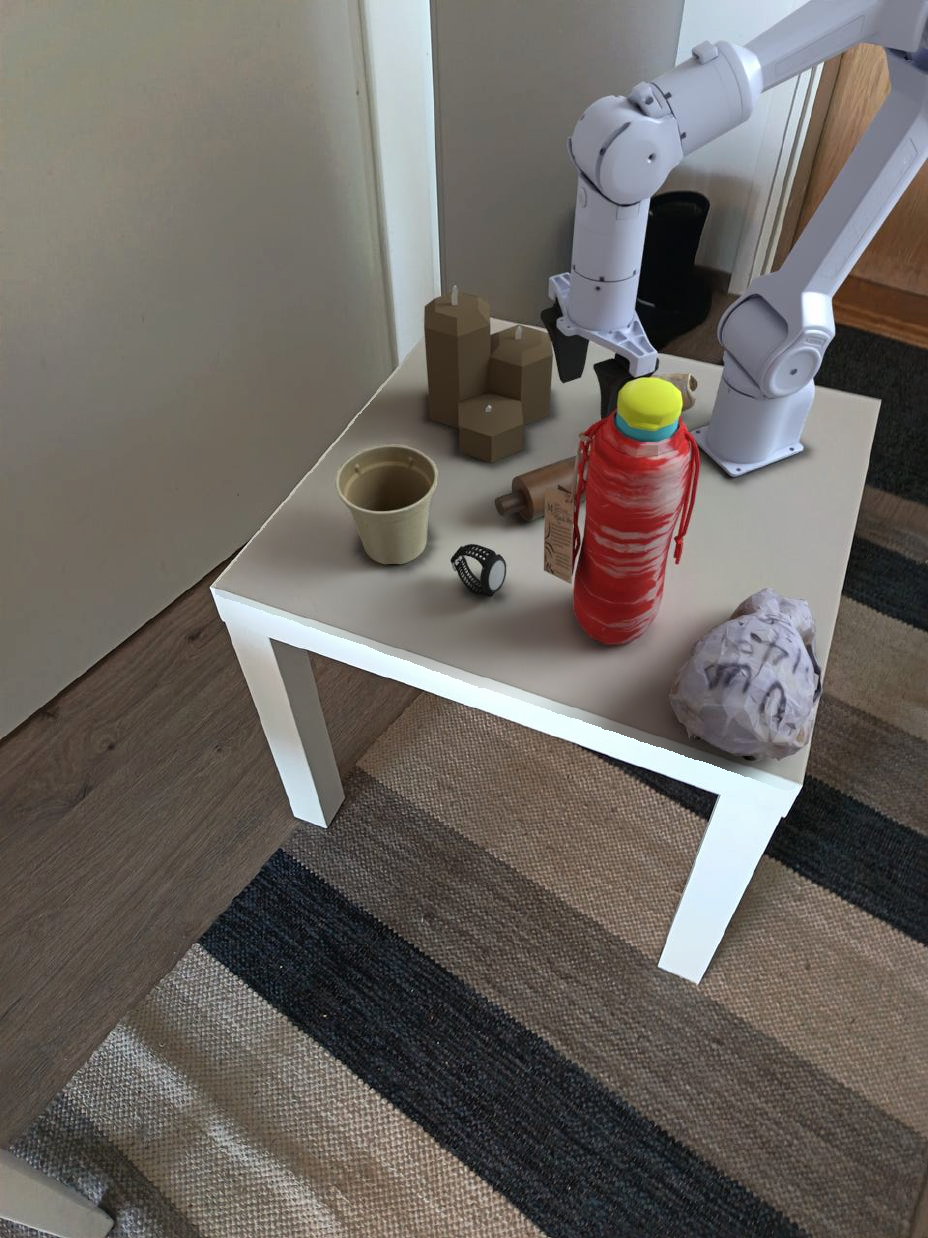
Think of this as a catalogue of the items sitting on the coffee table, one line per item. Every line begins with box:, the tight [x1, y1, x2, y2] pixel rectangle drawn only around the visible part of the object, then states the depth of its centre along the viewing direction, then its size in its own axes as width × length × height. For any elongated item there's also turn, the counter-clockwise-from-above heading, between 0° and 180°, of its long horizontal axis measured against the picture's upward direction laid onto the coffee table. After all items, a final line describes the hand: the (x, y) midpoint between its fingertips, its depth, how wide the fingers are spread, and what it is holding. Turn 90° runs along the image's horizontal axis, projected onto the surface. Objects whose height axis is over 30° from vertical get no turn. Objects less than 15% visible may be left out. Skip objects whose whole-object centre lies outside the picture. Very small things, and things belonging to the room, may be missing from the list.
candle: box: [423, 285, 554, 464], centre depth 92 cm, size 14×14×15 cm
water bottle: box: [543, 378, 701, 645], centre depth 69 cm, size 12×8×25 cm, turn 71°
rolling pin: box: [494, 449, 590, 522], centre depth 87 cm, size 15×5×5 cm, turn 116°
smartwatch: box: [450, 543, 507, 598], centre depth 79 cm, size 4×5×5 cm
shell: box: [650, 372, 698, 413], centre depth 96 cm, size 8×4×5 cm, turn 84°
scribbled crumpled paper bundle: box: [668, 587, 824, 764], centre depth 69 cm, size 19×12×10 cm, turn 137°
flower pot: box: [334, 443, 439, 565], centre depth 82 cm, size 9×9×9 cm
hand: (591, 399), depth 82 cm, fingers open, 7 cm apart
